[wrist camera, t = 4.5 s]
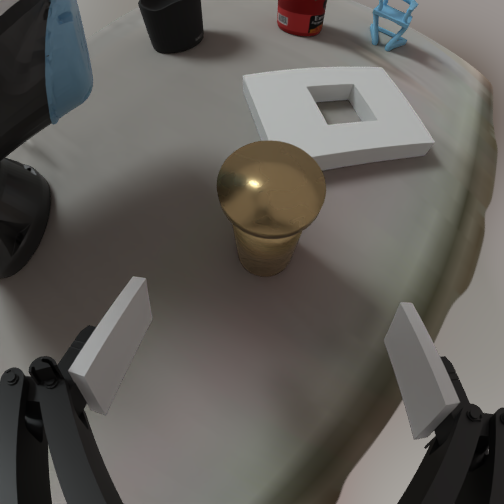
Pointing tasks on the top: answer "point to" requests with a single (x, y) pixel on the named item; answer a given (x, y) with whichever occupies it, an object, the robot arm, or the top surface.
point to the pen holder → (173, 23)
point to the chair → (396, 17)
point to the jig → (336, 135)
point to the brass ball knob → (269, 201)
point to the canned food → (301, 16)
